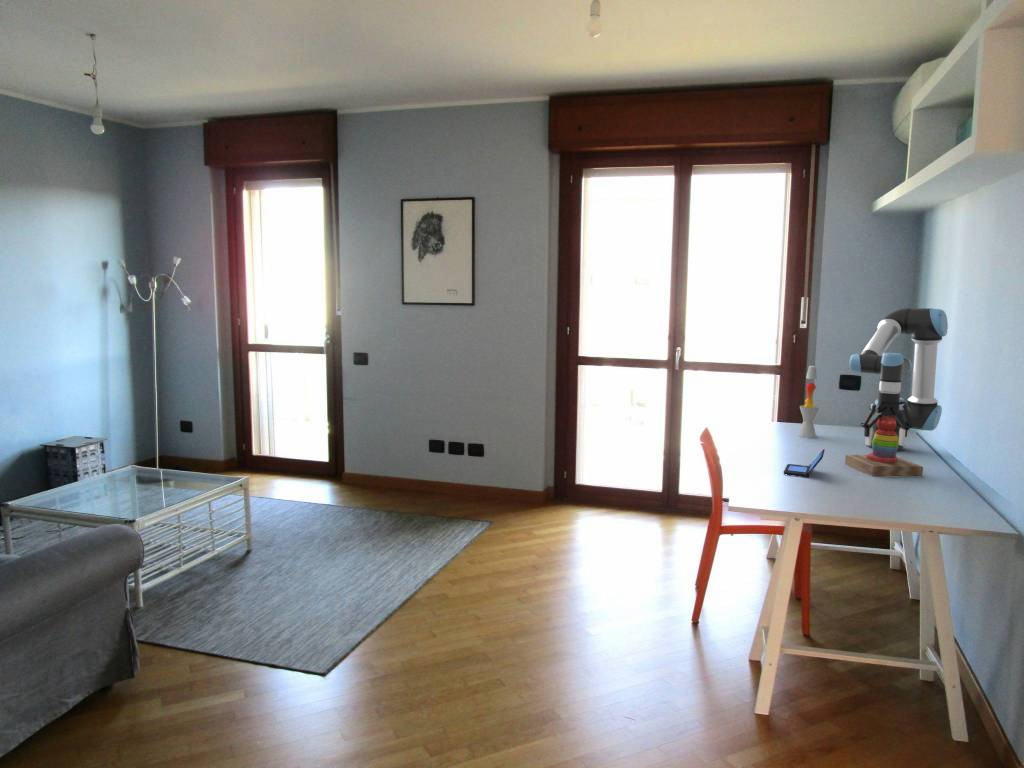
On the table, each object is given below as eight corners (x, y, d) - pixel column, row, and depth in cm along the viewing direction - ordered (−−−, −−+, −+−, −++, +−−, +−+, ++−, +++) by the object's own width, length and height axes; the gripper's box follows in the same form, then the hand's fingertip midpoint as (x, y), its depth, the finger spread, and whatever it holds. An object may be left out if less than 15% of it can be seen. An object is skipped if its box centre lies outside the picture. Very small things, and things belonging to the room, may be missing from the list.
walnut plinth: (892, 464, 293) (892, 455, 293) (922, 476, 274) (923, 466, 273) (845, 464, 292) (845, 454, 292) (871, 476, 273) (872, 466, 272)
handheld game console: (787, 467, 286) (788, 444, 285) (823, 471, 280) (825, 448, 279) (783, 475, 272) (784, 451, 271) (821, 480, 266) (822, 456, 265)
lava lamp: (818, 438, 346) (824, 367, 342) (799, 437, 348) (804, 366, 344) (814, 435, 355) (820, 365, 351) (795, 434, 357) (800, 364, 352)
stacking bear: (892, 458, 287) (896, 414, 285) (903, 463, 277) (907, 419, 275) (864, 457, 288) (868, 413, 286) (874, 462, 278) (878, 418, 276)
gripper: (914, 391, 284) (909, 443, 286) (853, 390, 282) (849, 442, 285) (926, 394, 276) (920, 447, 279) (863, 393, 275) (859, 446, 277)
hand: (884, 445), depth 282 cm, fingers open, 13 cm apart
